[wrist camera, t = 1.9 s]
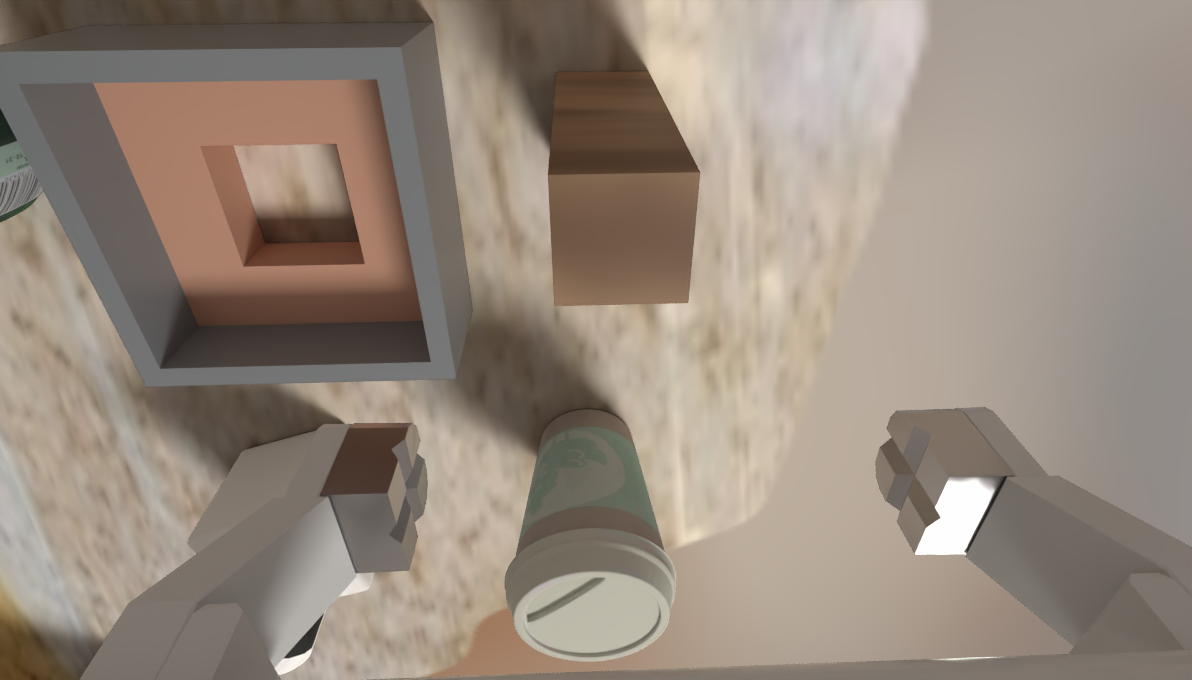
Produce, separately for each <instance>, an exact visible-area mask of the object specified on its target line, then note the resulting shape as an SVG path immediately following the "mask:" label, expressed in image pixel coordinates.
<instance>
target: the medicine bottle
mask: <svg viewBox="0 0 1192 680" xmlns="http://www.w3.org/2000/svg"><path fill="white" fill-rule="evenodd" d="M315 432H316V430H315V431H312V432H308V433H304V434H301V435H297V436H293V437H290V438H286V439H282V440H279V441H275V442H271V443H268V444H264V445H260V446H257V447H253V448H249V449H246V450H244V451H242V452H241V454H240V455H239V457H238V459H237V460H236V462H235V464H234V465H233V467H232V468H231V470H230V472H229V473H228V475H227V477H226V478H225V480H224V482H223V483H222V485H221V486H220V488H219V490H218V491H217V493H216V495H215V496H214V498H213V499H212V501H211V503H210V504H209V506H208V508H207V509H206V511H205V513H204V514H203V516H202V517H201V519H200V521H199V522H198V524H197V526H196V527H195V529H194V530H193V532H192V534H191V535H190V537H189V539H188V545H189V546H190V548H192V549H193V550H194V551H195V552H196V553H197V554H198V553H199V552H200V551H202V550H203V549H204V548H206V547H207V546H209V545H210V544H211V543H213V542H214V541H215V540H217V539H218V538H220V537H221V536H222V535H224V534H225V533H226V532H228V531H229V530H231V529H232V528H233V527H235V526H236V525H237V524H239V523H240V522H242V521H243V520H244V519H246V518H247V517H248V516H250V515H251V514H253V513H254V512H255V511H257V510H258V509H260V508H261V507H262V506H264V505H265V504H266V503H268V502H269V501H271V500H272V499H273V498H283V497H284V495H285V493H286V491H287V489H288V487H289V485H290V483H291V481H292V479H293V477H294V475H295V473H296V471H297V469H298V467H299V465H300V463H301V461H302V459H303V457H304V455H305V453H306V451H307V449H308V447H309V445H310V442H311V440H312V438H313V436H314V434H315ZM373 575H374V573H357V574H356V578H355V579H354V580H353V581H352V582H351V583H350V585H349V586H348V587H347V588H346V589H345V590H344V591H343V592H342V593H341V595H340V596H339V597H341V596H345V595H349V594H354V593H358V592H362V591H365V590H368V588H369V587H370V585H371V581H372V578H373ZM325 612H326V611H325ZM325 612H324V613H323V615H322V616H321V617H320V618H319V619H318V620H317V621H316V622H315V624H314V625H313V626H312V627H311V628H310V629H309V630H308V631H307V632H306V634H305V635H304V636H303V637H302V638H301V639H300V640H299V641H298V642H297V644H296V645H295V646H294V647H293V648H292V649H291V650H290V651H289V652H288V654H287V655H286V656H285V657H284V658H283V659H282V660H281V661H280V662H279V664H278V665H277V666H276V667H275V670H276V672H277V674H278V675H280V674H284V673H287V672H289V671H292V670H293V669H295V668H297V667H298V666H299V665H301V664H302V663H304V662H305V661H306V660H307V659H308V658H309V656H310V654H311V652H312V649H313V646H314V643H315V640H316V638H317V635H318V632H319V629H320V626H321V623H322V620H323V618H324V615H325Z"/></svg>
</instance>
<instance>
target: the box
mask: <svg viewBox="0 0 1192 680" xmlns="http://www.w3.org/2000/svg"><path fill="white" fill-rule="evenodd" d="M0 109H1V110H2V112H3V114H4V116H5V118H6V120H7V122H8V124H9V126H10V128H11V130H12V131H13V133H14V135H15V137H16V139H17V141H18V143H19V145H20V147H21V149H22V151H23V152H24V154H25V156H26V158H27V160H28V162H29V164H30V166H31V168H32V170H33V172H34V173H35V175H36V177H37V179H38V181H39V183H40V185H41V187H42V189H43V191H44V193H45V194H46V196H47V198H48V200H49V202H50V204H51V206H52V208H53V210H54V212H55V214H56V215H57V217H58V219H59V221H60V223H61V225H62V227H63V229H64V231H65V233H66V235H67V236H68V238H69V240H70V242H71V244H72V246H73V248H74V250H75V252H76V254H77V256H78V257H79V259H80V261H81V263H82V265H83V267H84V269H85V271H86V273H87V275H88V277H89V278H90V280H91V282H92V284H93V286H94V288H95V290H96V292H97V294H98V296H99V298H100V299H101V301H102V303H103V305H104V307H105V309H106V311H107V313H108V315H109V317H110V319H111V321H112V322H113V324H114V326H115V328H116V330H117V332H118V334H119V336H120V338H121V340H122V342H123V343H124V345H125V347H126V349H127V351H128V353H129V355H130V357H131V359H132V361H133V363H134V364H135V366H136V368H137V370H138V372H139V374H140V376H141V378H142V380H143V382H144V384H145V385H146V387H164V386H203V385H242V384H282V383H321V382H360V381H400V380H439V379H456V377H457V373H458V369H459V365H460V361H461V357H462V353H463V349H464V345H465V340H466V336H467V332H468V328H469V324H470V320H471V316H472V312H473V309H472V302H471V294H470V287H469V280H468V272H467V265H466V258H465V250H464V243H463V236H462V228H461V221H460V214H459V206H458V199H457V191H456V184H455V177H454V169H453V162H452V155H451V147H450V140H449V133H448V125H447V118H446V111H445V103H444V96H443V89H442V81H441V74H440V67H439V59H438V52H437V45H436V37H435V30H434V22H389V23H292V24H195V25H97V26H84V27H79V28H75V29H71V30H66V31H62V32H57V33H53V34H49V35H44V36H40V37H35V38H31V39H27V40H22V41H18V42H13V43H9V44H4V45H0ZM292 144H337V148H338V152H339V157H340V161H341V165H342V169H343V173H344V178H345V182H346V186H347V190H348V194H349V199H350V203H351V207H352V211H353V215H354V220H355V224H356V228H357V232H358V236H359V241H360V242H309V243H265V241H264V238H263V235H262V232H261V229H260V226H259V223H258V220H257V217H256V214H255V211H254V208H253V205H252V202H251V199H250V196H249V193H248V190H247V187H246V184H245V181H244V178H243V175H242V172H241V169H240V166H239V163H238V160H237V157H236V154H235V151H234V148H233V145H292Z"/></svg>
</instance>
